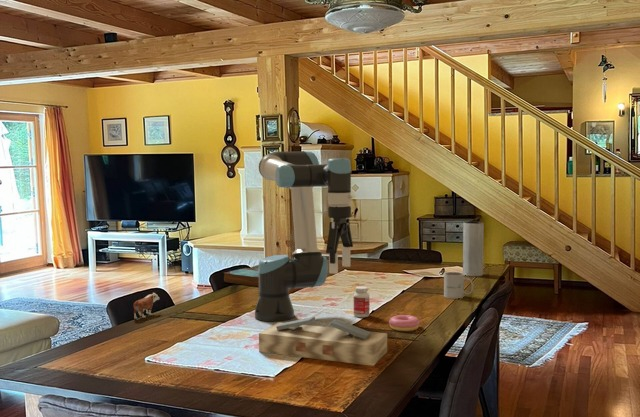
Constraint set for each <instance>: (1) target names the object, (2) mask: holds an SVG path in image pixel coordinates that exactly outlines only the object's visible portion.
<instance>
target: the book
mask: <svg viewBox="0 0 640 417" xmlns="http://www.w3.org/2000/svg"><path fill="white" fill-rule="evenodd" d="M258 269H259V268H252V267H244V268H239V269H235V270H229V271H227V272H224V273H223V274H224V275H223V280H224V283H229V284H235V285H243V286H251V287H257V288H259V273H258Z"/></svg>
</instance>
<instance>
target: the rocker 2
mask: <svg viewBox="0 0 640 417" xmlns="http://www.w3.org/2000/svg"><path fill="white" fill-rule="evenodd" d="M329 326H330V327H331V328H337V329H339V330H342V331H344V332H346V333H345V335H349V334H352V335H355V336H357V337H360V338H362V339H365V340H366V339H367V338H368V337H369V336H370V333H371V332H372V331H368V330H366V329H363V328H361V327H359V326H355V325H354V324H351V323H348V322H345V321H343V320H340V319H338V318H335V319H334V320H331V321H330V323H329Z"/></svg>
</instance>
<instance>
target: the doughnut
mask: <svg viewBox="0 0 640 417" xmlns="http://www.w3.org/2000/svg"><path fill="white" fill-rule="evenodd" d="M388 325H389V326H390V328H391V329H392V330H394V331H399V332H411V331H416V330H418V329H419V327H420V320H419V318H418V317H417V316H414V315H409V314H398V315H393V316H392V317H390V318H389V321H388Z"/></svg>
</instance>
